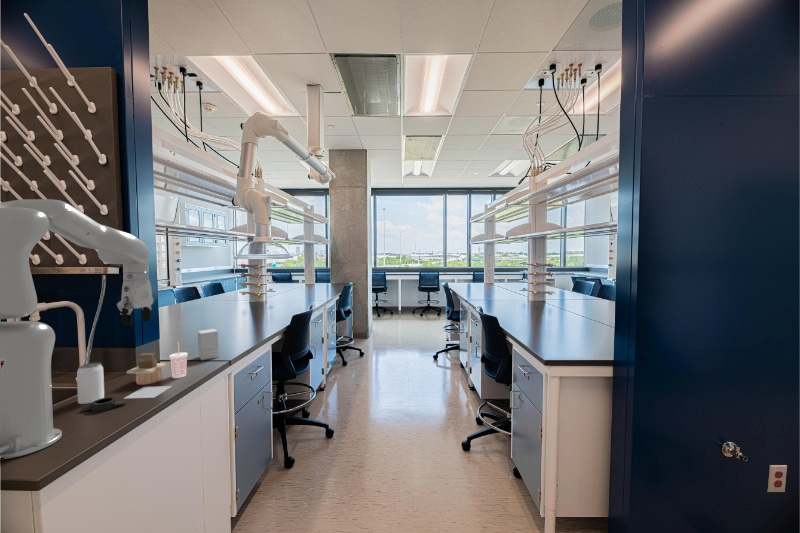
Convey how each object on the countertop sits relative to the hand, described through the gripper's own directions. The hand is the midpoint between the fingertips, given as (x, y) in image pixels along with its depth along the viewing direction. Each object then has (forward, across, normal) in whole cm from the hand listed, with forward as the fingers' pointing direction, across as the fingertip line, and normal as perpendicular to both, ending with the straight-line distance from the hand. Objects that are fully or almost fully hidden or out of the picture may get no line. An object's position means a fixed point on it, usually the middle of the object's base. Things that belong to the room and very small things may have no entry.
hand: (137, 323), depth 126 cm
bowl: (+23, +2, -2) cm, 23 cm away
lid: (+18, +2, -2) cm, 18 cm away
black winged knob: (+24, -20, -4) cm, 32 cm away
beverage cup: (+23, +7, -11) cm, 26 cm away
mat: (+23, -9, -10) cm, 27 cm away
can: (+24, -14, +5) cm, 28 cm away
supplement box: (+23, +33, -9) cm, 41 cm away
